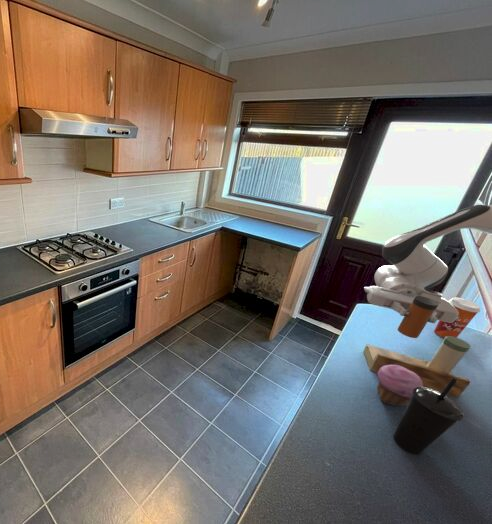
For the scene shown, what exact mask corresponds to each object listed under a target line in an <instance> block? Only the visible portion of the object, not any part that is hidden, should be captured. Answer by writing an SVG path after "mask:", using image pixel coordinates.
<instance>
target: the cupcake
mask: <svg viewBox="0 0 492 524" xmlns="http://www.w3.org/2000/svg"><path fill="white" fill-rule="evenodd" d="M377 377H378V383H377V388H376V389H377V394H378V396H379V399H380V401H382V403H385V404H388V405H392V406H396V407H397V406H405V405H408V404H409V401H410V399H411V397H412V395H413V393H412V392H413V389H414V388H416V387H424V386H423V383H422V380H421V379H420V377H419V376H418V375H417V374H415V373H414V372H412V371H410V370H408V369H406V368H404V367H402V366H399V365H385V366H382V367H381V368H380V369H379V371H378V373H377Z"/></svg>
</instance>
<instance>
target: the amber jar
mask: <svg viewBox="0 0 492 524" xmlns="http://www.w3.org/2000/svg"><path fill="white" fill-rule="evenodd" d="M437 307H438V303H437V302H436V301H434V300H432V299H429V298H426V297H422V296H415V298H414V299H413V301H412V304H411V306H410V308H409V309H408V310H409V311H410V314H409V315H408V317H405V316H403V318H402V320H401V322H400V323H399V325H398V327H397V332H399V333H400V334H401V335H402V336H405V337H408V338H411V339H417V338H419V337H420V335H421V333H422V331H423V330H424V328H425V327H426V326H427V323H429V322H428V320H429V319H430V317H431V315H432V314H433V312H434V310H436V308H437Z"/></svg>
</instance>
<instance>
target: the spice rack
mask: <svg viewBox="0 0 492 524" xmlns="http://www.w3.org/2000/svg"><path fill="white" fill-rule="evenodd" d="M362 352H363V355H364V357H365V361H366V364H367V366H368V369H369V370H370V371H371V372H375V373H377V374H378V371H379V369H380V368H381V367H382V366H385V365H399V366H402V367H404V368H406V369H408V370H410V371H412V372H414V373H415V374H417V375H418V376H419V377H420V379H421V380H422V383H423V386H424V387H426V388H430V389H433V390H435V391H437V392H440V393H442V392H443V390H444V389H445V388H446V386H447V385H448V384H449V382H450V381H451V380H452V378H453V379H456V380H457V382H456V383H455V384H454V386H453V387H452V388H451V389H450V391H449V392H448V393H447V395H448V396H451V397H454V398H457V399H458V398H459V397H460V396H462V394H463V392H464V391H465V390H466V389H467V387H468V386H469V385H470V384H471V380H470V379H468V378H465V377H462V376H460V375H459V376H458V375H456V374H455V375H454V373H453V371H452V372H451V373H450V374H448V373H445V372H441V371H438V370H435V369H431V368H428V367H426V366H427V364H428V363H429V361H427V360H424V359H420V358H416V357H413V356H409V355H406V354H403V353H400V352H395V351H392V350H389V349H385V348H382V347H378V346H374V345H371V344H366V345H365V347H364V348H363V351H362Z"/></svg>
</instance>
